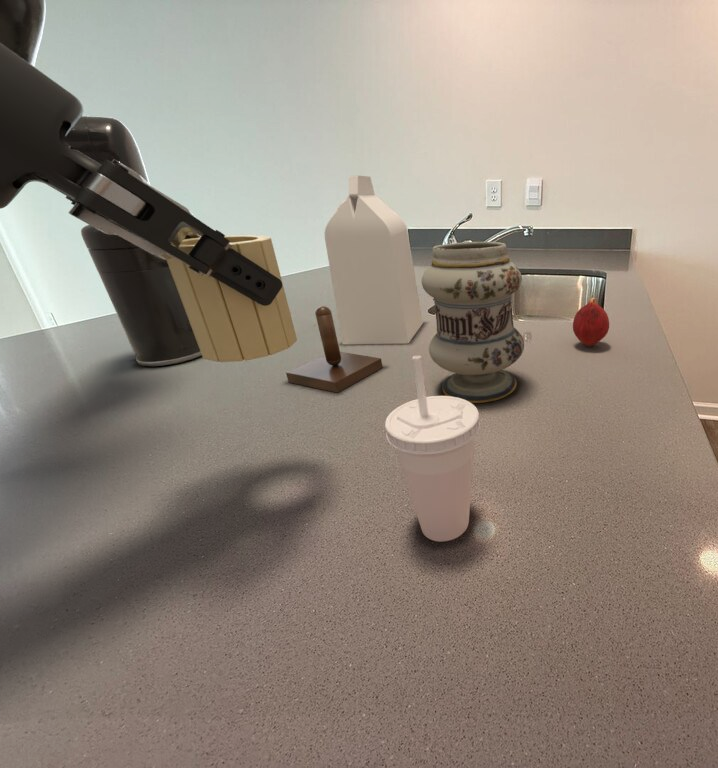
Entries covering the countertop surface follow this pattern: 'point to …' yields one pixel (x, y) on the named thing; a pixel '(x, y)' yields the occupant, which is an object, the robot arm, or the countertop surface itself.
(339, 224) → the milk
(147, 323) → the robot arm
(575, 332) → the onion
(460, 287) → the apothecary jar
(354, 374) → the stand
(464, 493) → the smoothie
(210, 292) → the wooden slatted cup
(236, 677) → the countertop surface
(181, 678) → the countertop surface
